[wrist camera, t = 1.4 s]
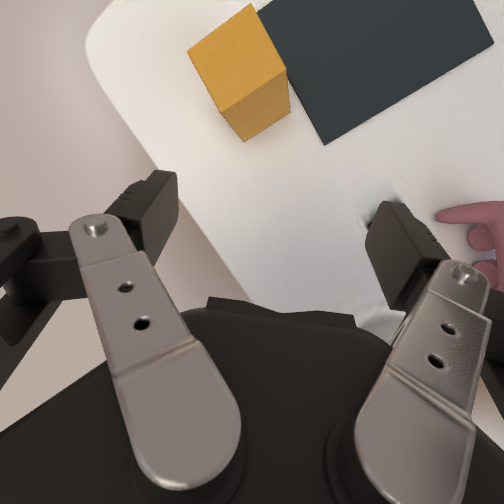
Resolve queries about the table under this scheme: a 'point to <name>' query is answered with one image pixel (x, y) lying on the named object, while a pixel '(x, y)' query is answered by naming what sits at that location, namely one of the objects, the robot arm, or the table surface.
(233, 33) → the block
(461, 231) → the table surface
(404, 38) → the mat
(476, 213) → the video game controller
